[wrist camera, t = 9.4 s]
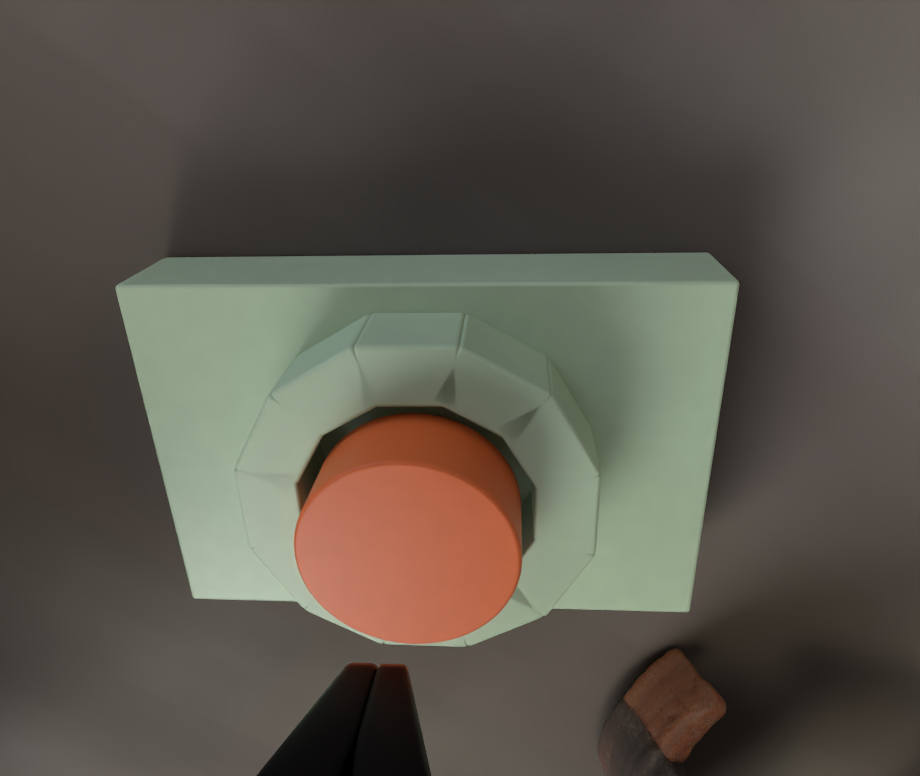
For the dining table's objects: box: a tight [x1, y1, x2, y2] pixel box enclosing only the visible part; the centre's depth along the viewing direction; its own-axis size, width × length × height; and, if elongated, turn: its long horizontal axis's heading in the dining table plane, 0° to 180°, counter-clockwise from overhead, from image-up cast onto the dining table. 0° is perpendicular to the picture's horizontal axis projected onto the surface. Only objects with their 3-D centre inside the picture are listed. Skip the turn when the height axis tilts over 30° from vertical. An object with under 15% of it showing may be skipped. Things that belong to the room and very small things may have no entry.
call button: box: [294, 413, 522, 644], centre depth 13 cm, size 4×4×2 cm
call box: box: [116, 252, 739, 647], centre depth 15 cm, size 12×8×4 cm, turn 92°
